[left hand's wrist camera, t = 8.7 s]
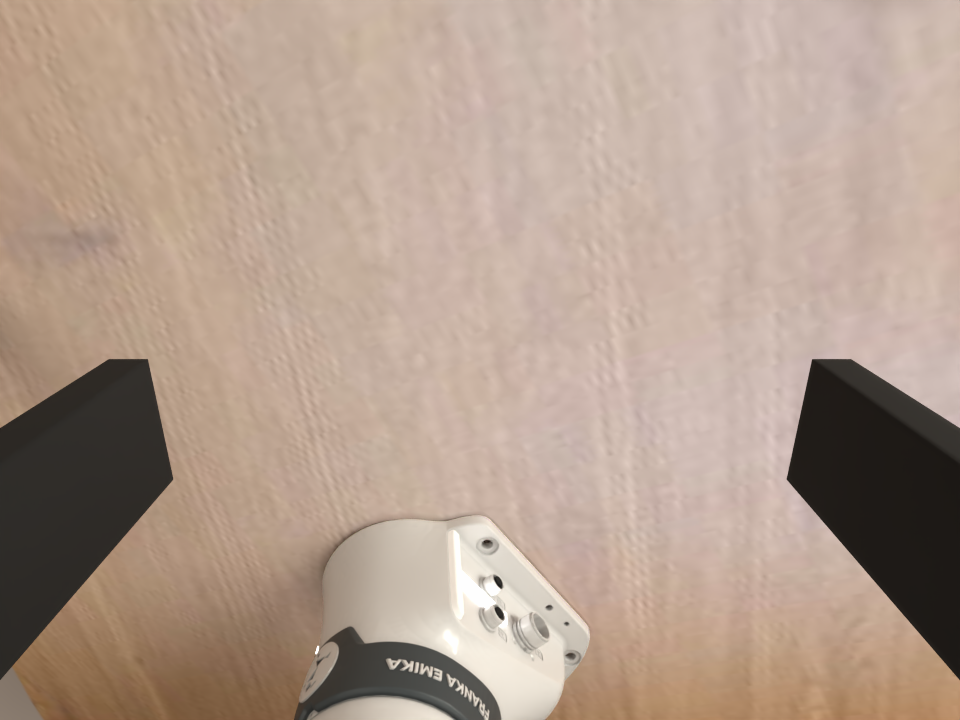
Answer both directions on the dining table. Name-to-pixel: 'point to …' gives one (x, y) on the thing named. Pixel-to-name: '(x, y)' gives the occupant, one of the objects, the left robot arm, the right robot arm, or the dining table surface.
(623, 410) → the dining table surface
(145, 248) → the dining table surface
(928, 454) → the left robot arm
